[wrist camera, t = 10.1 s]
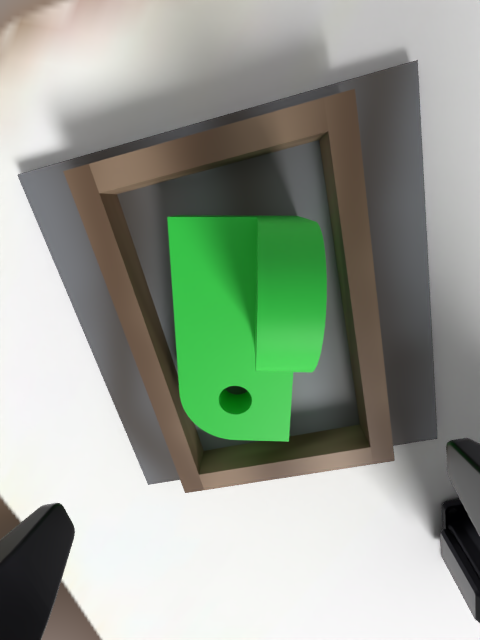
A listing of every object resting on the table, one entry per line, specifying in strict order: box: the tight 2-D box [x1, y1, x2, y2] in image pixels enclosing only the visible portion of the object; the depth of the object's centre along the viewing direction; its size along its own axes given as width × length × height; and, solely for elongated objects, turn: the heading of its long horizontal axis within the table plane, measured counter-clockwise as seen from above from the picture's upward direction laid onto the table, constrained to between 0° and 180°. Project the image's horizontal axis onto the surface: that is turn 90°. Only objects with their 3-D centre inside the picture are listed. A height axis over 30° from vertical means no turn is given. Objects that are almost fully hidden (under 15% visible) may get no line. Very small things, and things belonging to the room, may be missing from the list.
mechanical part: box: [167, 215, 327, 442], centre depth 15 cm, size 12×6×8 cm, turn 0°
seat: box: [18, 60, 437, 493], centre depth 18 cm, size 19×20×3 cm
